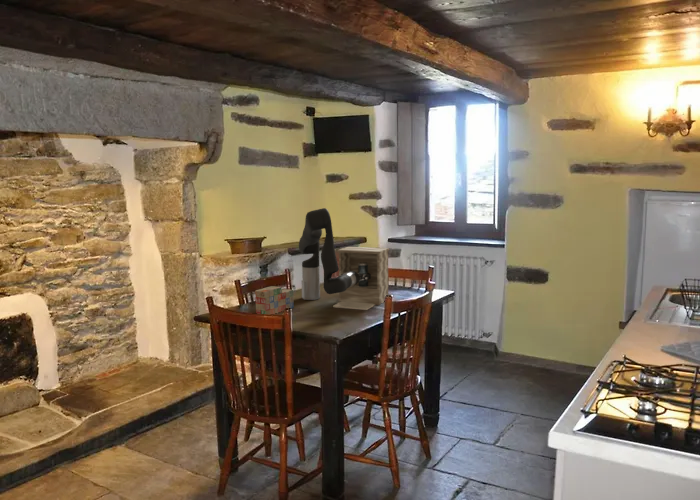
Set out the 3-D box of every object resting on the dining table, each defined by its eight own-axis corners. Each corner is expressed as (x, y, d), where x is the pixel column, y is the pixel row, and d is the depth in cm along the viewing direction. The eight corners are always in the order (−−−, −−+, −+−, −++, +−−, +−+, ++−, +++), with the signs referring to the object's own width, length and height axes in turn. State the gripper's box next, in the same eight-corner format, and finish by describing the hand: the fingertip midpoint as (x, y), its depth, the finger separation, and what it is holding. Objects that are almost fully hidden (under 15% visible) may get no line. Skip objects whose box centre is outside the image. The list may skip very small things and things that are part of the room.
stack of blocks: (284, 306, 287) (283, 282, 286) (293, 308, 284) (293, 283, 283) (255, 315, 269) (254, 290, 268) (266, 317, 266) (265, 291, 265)
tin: (360, 287, 294) (359, 264, 292) (357, 285, 299) (356, 262, 297) (369, 286, 295) (369, 263, 294) (366, 284, 300) (366, 262, 299)
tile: (366, 309, 277) (366, 308, 277) (333, 307, 284) (333, 305, 284) (374, 305, 288) (374, 303, 287) (341, 302, 294) (341, 301, 294)
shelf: (380, 305, 288) (379, 251, 284) (338, 301, 296) (337, 250, 293) (389, 299, 301) (389, 248, 298) (349, 296, 310) (348, 246, 307)
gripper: (362, 272, 275) (374, 267, 290) (335, 271, 281) (348, 266, 296) (362, 288, 276) (374, 282, 291) (335, 286, 282) (348, 280, 297)
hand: (361, 274), depth 293 cm, fingers open, 8 cm apart
